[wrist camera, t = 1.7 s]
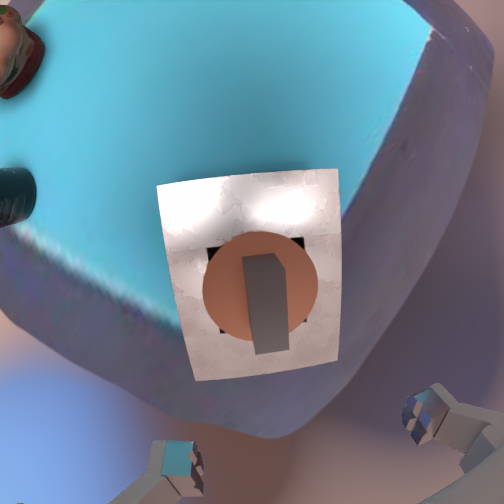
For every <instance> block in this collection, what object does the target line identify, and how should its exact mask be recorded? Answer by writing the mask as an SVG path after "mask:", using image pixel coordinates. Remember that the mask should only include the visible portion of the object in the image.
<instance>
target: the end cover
mask: <svg viewBox="0 0 504 504" xmlns="http://www.w3.org/2000/svg"><path fill="white" fill-rule="evenodd" d="M317 293H318V276H317V272H316V269H315V266H314V263H313V262H312V260H311V258H310V257H309V255H308V254H307V253H306V251H305V250H304V249H302V248H301V247H300V246H299V245H298V244H297V243H295V242H294V241H293V240H291V239H289V238H287V237H286V236H283V235H280V234H277V233H273V232H264V231H262V232H251V233H246V234H243V235H240V236H238V237H236V238H233V239H232V240H230V241H228V242H227V243H225V244H224V245H223V246H222V247H221V248H220V249H219V250H218V251H217V252H216V253H215V254H214V256H213V257H212V258H211V260H210V262H209V264H208V266H207V268H206V271H205V274H204V279H203V284H202V295H203V301H204V305H205V308H206V310H207V313H208V314H209V316H210V318H211V319H212V320H213V322H214V323H215V324H216V325H217V326H218V327H219V328H220V329H222V330H223V331H224V332H226V333H227V334H229V335H231V336H233V337H236V338H238V339H242V340H246V341H253V345H254V350H255V355H259V354H266V353H272V352H279V351H285V350H289V333H290V332H291V331H293V330H294V329H296V328H297V327H298V326H299V325H300V324H301V323H302V322H303V321H304V320H305V319H306V318H307V316H308V315H309V313H310V312H311V310H312V308H313V306H314V304H315V301H316V298H317Z"/></svg>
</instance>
